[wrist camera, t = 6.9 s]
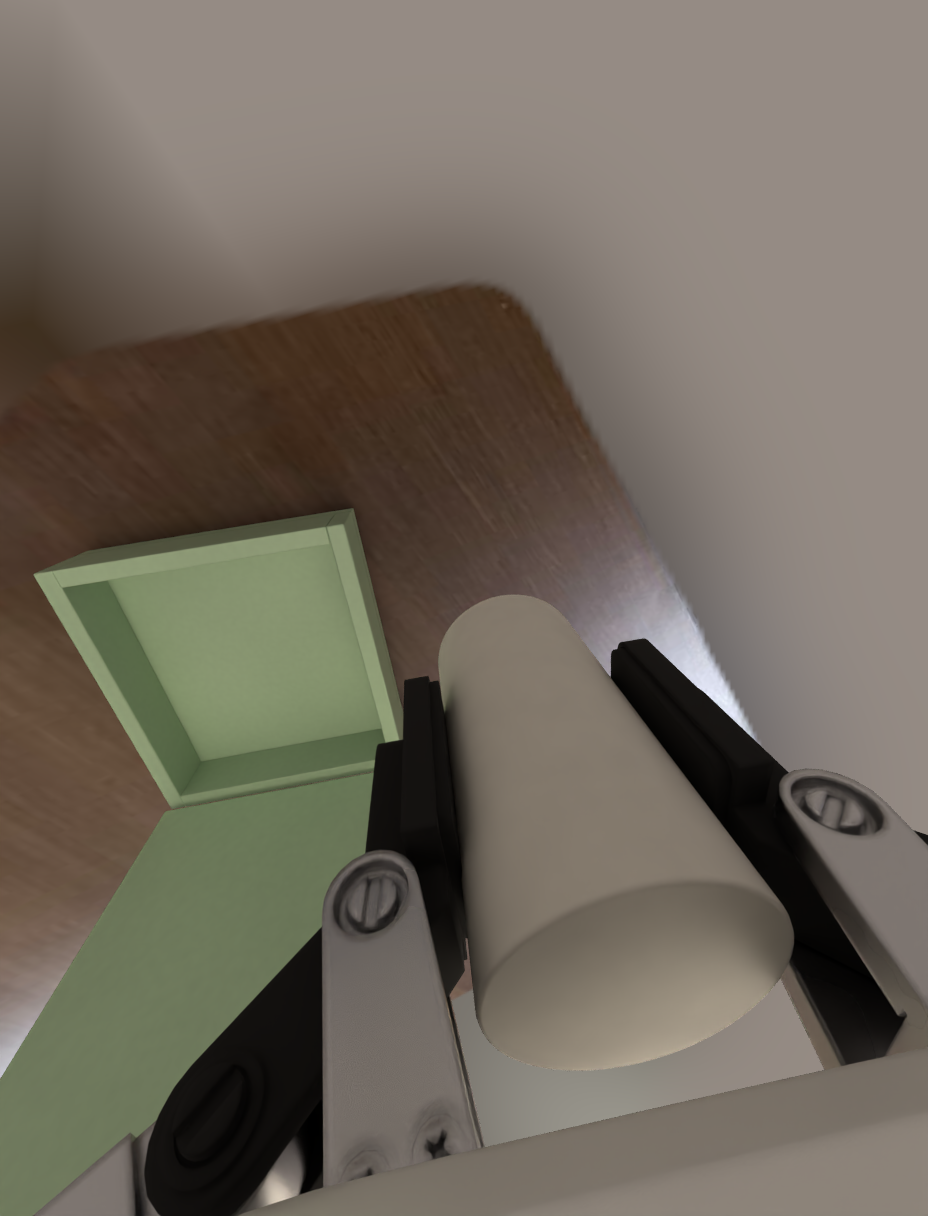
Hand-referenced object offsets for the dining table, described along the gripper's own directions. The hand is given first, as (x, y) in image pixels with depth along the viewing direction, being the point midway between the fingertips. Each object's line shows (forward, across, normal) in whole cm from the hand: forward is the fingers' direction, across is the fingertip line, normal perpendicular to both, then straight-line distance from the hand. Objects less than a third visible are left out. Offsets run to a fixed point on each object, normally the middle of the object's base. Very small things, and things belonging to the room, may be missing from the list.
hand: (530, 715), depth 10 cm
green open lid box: (+17, +13, +6) cm, 23 cm away
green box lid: (+5, +13, +13) cm, 19 cm away
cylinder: (+3, 0, 0) cm, 3 cm away
